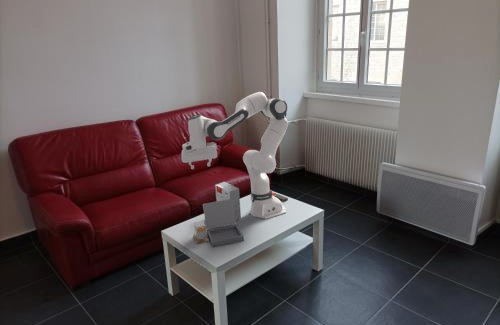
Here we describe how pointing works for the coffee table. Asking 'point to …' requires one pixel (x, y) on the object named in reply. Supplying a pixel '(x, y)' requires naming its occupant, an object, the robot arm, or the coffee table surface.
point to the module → (200, 230)
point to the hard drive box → (229, 196)
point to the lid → (219, 213)
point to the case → (225, 235)
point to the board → (201, 240)
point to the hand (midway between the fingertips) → (200, 167)
